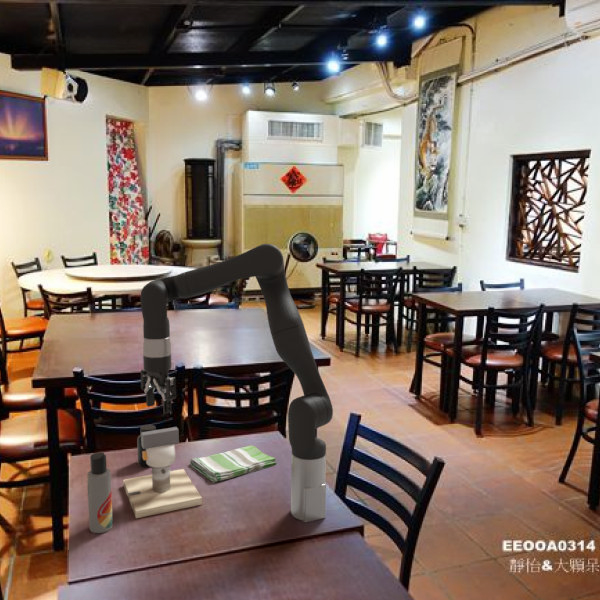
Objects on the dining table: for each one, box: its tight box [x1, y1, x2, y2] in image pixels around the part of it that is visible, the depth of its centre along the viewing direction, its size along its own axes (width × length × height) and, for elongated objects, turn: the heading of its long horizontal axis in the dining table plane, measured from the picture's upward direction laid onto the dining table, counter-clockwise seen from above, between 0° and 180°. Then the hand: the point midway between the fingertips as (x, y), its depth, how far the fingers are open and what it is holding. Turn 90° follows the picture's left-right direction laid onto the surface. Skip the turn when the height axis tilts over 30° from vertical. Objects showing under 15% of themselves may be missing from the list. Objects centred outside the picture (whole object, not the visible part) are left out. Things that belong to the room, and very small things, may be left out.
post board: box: [122, 465, 203, 519], centre depth 169 cm, size 20×18×10 cm
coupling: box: [140, 426, 180, 468], centre depth 167 cm, size 10×8×9 cm
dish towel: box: [189, 445, 277, 484], centre depth 190 cm, size 17×23×4 cm
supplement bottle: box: [136, 424, 157, 468], centre depth 190 cm, size 7×7×12 cm
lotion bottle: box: [86, 451, 113, 534], centre depth 151 cm, size 6×6×20 cm
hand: (158, 409), depth 166 cm, fingers open, 8 cm apart
